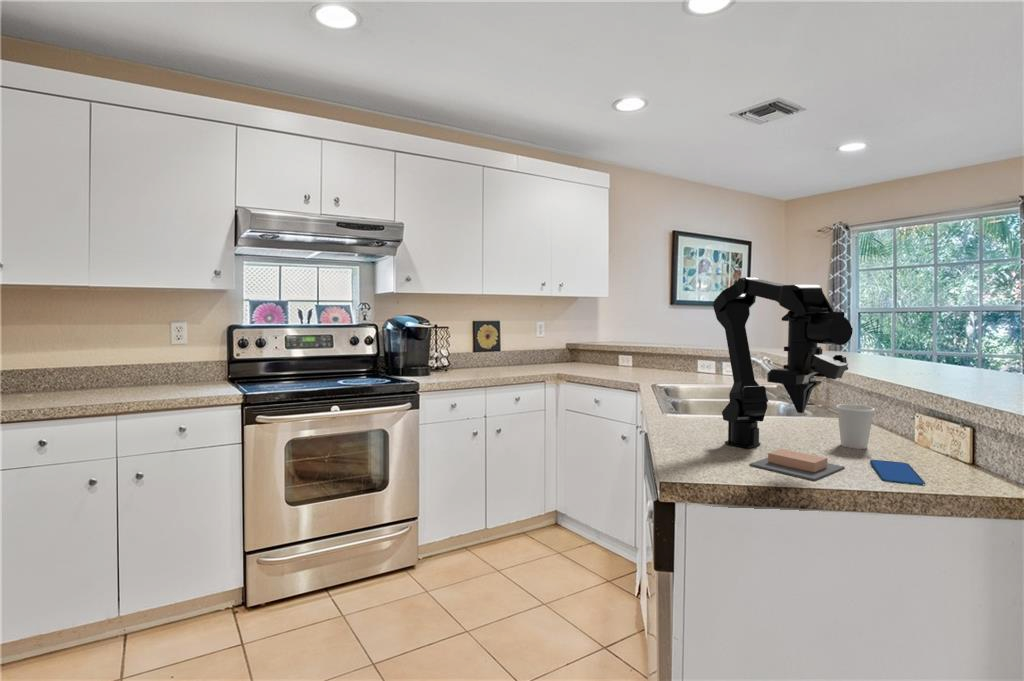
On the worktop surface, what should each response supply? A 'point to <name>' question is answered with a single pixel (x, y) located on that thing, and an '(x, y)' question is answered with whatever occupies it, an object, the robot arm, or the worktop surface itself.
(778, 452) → the block
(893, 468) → the smartphone
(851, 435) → the dixie cup
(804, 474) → the mat
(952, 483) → the worktop surface
